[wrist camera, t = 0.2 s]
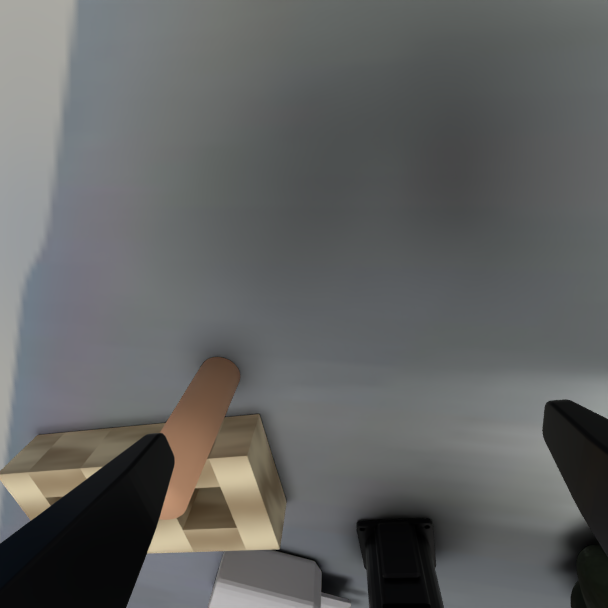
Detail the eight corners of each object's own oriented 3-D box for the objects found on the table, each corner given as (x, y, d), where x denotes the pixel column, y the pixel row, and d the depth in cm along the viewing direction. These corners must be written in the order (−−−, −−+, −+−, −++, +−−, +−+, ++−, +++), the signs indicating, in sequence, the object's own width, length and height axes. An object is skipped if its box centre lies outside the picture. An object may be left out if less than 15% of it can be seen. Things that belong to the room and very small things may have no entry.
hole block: (286, 501, 31) (279, 549, 27) (87, 512, 34) (57, 556, 30) (259, 414, 27) (247, 455, 23) (37, 435, 30) (-4, 474, 26)
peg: (244, 388, 26) (195, 518, 17) (207, 392, 26) (139, 520, 17) (234, 354, 25) (174, 474, 16) (194, 359, 25) (115, 478, 16)
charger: (346, 617, 38) (213, 583, 38) (376, 571, 34) (229, 532, 34) (347, 677, 34) (197, 639, 33) (382, 632, 30) (213, 588, 29)
